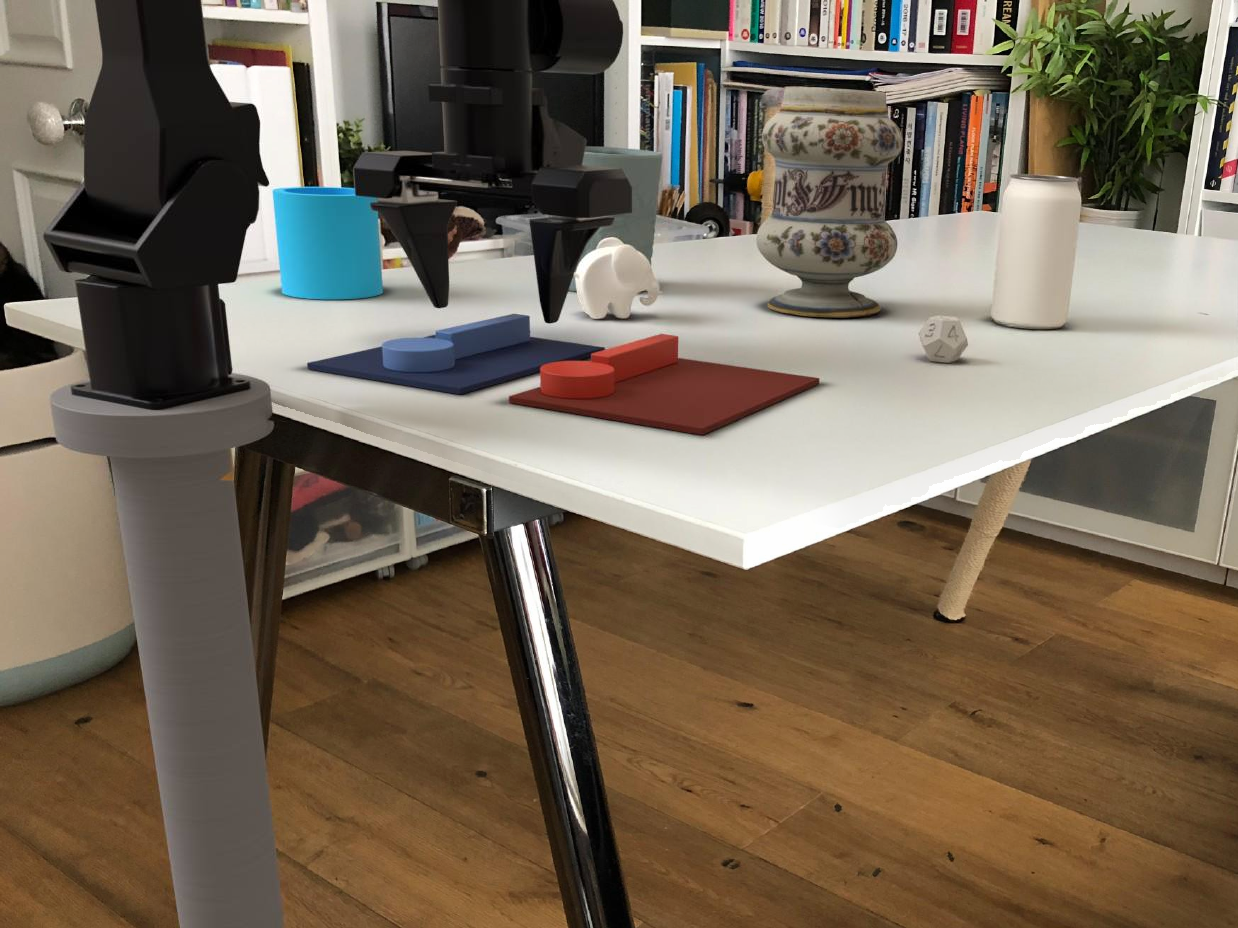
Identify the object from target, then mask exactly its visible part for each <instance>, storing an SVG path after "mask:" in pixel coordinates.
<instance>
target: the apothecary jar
mask: <svg viewBox="0 0 1238 928" xmlns="http://www.w3.org/2000/svg"><path fill="white" fill-rule="evenodd" d="M761 142H762V145H763V147H764V149H765V150H766V152H767V153H768V154H769V155H771V156H772V157H773V160H774V183H773V195H772V206H771V207H772V208H771V215H769V216H768V217H767V218H766V219H765V220H764V221H763V222H762V224H761V225H760V226H759V228H758V230H757V232H756V239H755V242H756V246H757V249H758V251H759V253H760V254H761V255H762V257H763V258H764V259H765V261H767V262H768V263H769V264H771V265H772V266H774V267H775V268H777V269H779V270H781V271H783V272H785V273H787V274H790V275H792V276H795V277H797V278H798V279H799V280H800V281H801V287H798V288H791V289H787V290H786V291H784V292H783V294H780V295H777V296H774V297H771V299H770V300H768V302H767V308H768V309H770V310H772V311H774V312H778V313H782V314H788V315H793V316H794V315H795V316H802V317H814V318H835V319H836V318H860V317H868V316H872V315H876V314H878V313H880V311H881V309H882V308H881V305H880V304H879V303H878V302H877V301H875V300H873V299H872V298H870V297H867V296H865V295H864V294H862V293H859V292H856V291H852V290H850V289H849V284H850V283H851V282H852V281H853V280H854V279H856V278H860V277H865V276H867V275H870V274H873V273H876V272H877V271H880V270H881V269H883V268H884V267H886V266H887V265H888V264H889V263H890V262H891V261H892V260H893V259H894V257H895V256H896V253H897V249H898V239H897V235H896V233H895V231H894V229H893V228H892V227H891V225H890V224H889V223H888V222H887V221H886V220H885V219H886V216H885V215H886V187H887V174H888V165H889V164H890V163H891V162H893V161H894V160H895V159H897V157H898V156H899V155H900V153H901V152H902V149H903V146H904V137H903V134H902V131H901V129H900V128H899V126H898V125H897V124H896V123H895V122H894V121H893V120H892V119H891V117H889V109H888V107H887V95H886V92H884V91H875V90H873V91H872V90H859V89H847V88H832V87H830V88H829V87H815V86H814V87H813V86H797V85H796V86H794V85H793V86H792V85H791V86H790V85H789V86H786V87H785V89H784V92H783V101H782V103H781V104H780V109H779V111H778V112H777V113H775V114H774V115H773V116H772V117H770V118H769V120H767V122H766V123H765V125H764V127H763V130H762V134H761Z"/></svg>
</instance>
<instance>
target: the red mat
mask: <svg viewBox="0 0 1238 928" xmlns="http://www.w3.org/2000/svg"><path fill="white" fill-rule="evenodd" d="M819 385H820V377H815V376H814V377H813V376H807V375H801V374H793V373H792V374H791V373H786V372H779V371H774V370H773V371H772V370H766V369H758V368H752V367H745V366H737V365H731V364H730V365H729V364H724V363H716V362H710V361H703V360H696V359H688V358H683V357H678V362H677V363H674V364H671V365H668V366H665V367H662V368H659V369H656V370H653V371H650V372H647V373H644V374H641V375H638V376H635V377H632V378H628V379H625V380H622V381H619V382H616V383H614V393H613V394H611V395H609V396H605V397H601V398H594V399H564V398H557V397H552V396H548V395H546V394H544V393H542V392H541V387H540V386H538V387H534V388H531V389H529V390H528V389H527V390H525V391H521V392H519V393H515V394H512V395H508V403H509V404H514V405H521V406H527V407H533V408H538V409H539V408H540V409H544V410H551V411H556V412H557V411H558V412H561V413H562V412H563V413H568V414H573V415H574V414H575V415H582V416H587V417H592V418H597V419H603V420H604V419H605V420H610V421H618V422H623V423H628V424H634V425H641V426H646V427H651V428H658V429H665V430H671V431H675V432H676V431H677V432H683V433H686V434H687V433H689V434H694V435H700V436H704V435H706V434H708V433H710V432H713V431H715V430H717V429H720V428H722V427H724V426H726V425H729V424H731V423H733V422H735V421H737V420H740V419H743V418H745V417H747V416H749V415H752V414H754V413H756V412H758V411H761V410H763V409H765V408H768V407H770V406H772V405H774V404H776V403H779V402H781V401H784V400H785V399H788V398H790V397H792V396H794V395H797V394H800V393H801V392H805V391H806V390H808V389H811V388H813V387H815V386H819Z"/></svg>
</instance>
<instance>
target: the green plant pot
mask: <svg viewBox="0 0 1238 928" xmlns="http://www.w3.org/2000/svg"><path fill="white" fill-rule="evenodd" d="M662 163H663V153H661V152H658V151H653V150H646V149H639V148H638V149H637V148H625V147H611V146H588V145H586V147H585V153H584V158H583V164H582V165H584V166H596V167H608V168H620V169H622V170H623V172H624V173H625V175H626V177H627V179H628V181H629V182H630V184H631V186H632V213H626V214H618V215H610V216H613V217H615V220H614V222H613V224H612V225H611V226H604V227H600V228H599V229H598V231H597V232H596V233H595V234H594V235H593V236H592V238H591V239H590V240H589V241H588V243H587V245H586V246H585V249H584V251H583V253H582V255H581V257H580V259H579V262H578V264H577V267H578V265H579V263H580V262H581V260H582V259H583V258H584V257H585V256H586V255H587V254H589V253H590V252H592V251H594V250H596V248H597V246H598V244H599V242H600V241H602V240H603V239H605V238H610V237H615V238H617V239H619V240H621V241H622V242H623V243H624V245H626V244H627V245H631V246H632V247H633V248H635V249H636V250H637V251H639V252H640V253H642V254H643V255H644V256H645V257H646V258H647V259H648V261H649V263H650V265H651V266H652V258H653V253H654V248H653V247H654V244H655V243H654V242H655V241H654V240H655V233H656V228H655V226H656V221H657V211H658V204H657V201H658V196H659V190H660V180H661V173H662V165H663V164H662ZM577 267H576V270H577ZM576 270H575V272H576ZM568 291H570V292H577V289H576V282H575V276H573V278H572V281H571V284H570V287H569V290H568Z"/></svg>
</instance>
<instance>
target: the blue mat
mask: <svg viewBox="0 0 1238 928" xmlns="http://www.w3.org/2000/svg"><path fill="white" fill-rule="evenodd" d="M421 338H436V336H435V334H432V335H426V336H423V337H422V336H421ZM603 350H606V347H605V346H597V345H592V344H584V343H577V342H569V341H563V340H556V339H549V338H543V337H536V336H530V341H528V342H524V343H520V344H516V345H512V346H508V347H504V348H500V349H496V350H492V351H488V352H484V353H480V354H476V355H472V356H468V357H464V358H460V359H456V360H455V365H454V367H453V368H451V369H448V370H444V371H438V372H428V373H408V372H398V371H393V370H389V369H387V368H385V367H384V366H383V352H382V346H378V347H373V348H369V349H365V350H360V351H355V352H351V353H346V354H342V355H337V356H333V357H328V358H323V359H318V360H315V361H310V362H307V364H306V367H307V370H313V371H318V372H324V373H328V374H329V373H330V374H336V375H341V376H348V377H353V378H358V379H359V378H360V379H364V380H365V379H366V380H371V381H378V382H385V383H389V384H395V385H401V386H407V387H412V388H418V389H419V388H420V389H424V390H432V391H437V392H443V393H448V394H456V395H464V394H467V393H471V392H474V391H477V390H480V389H484V388H485V389H486V388H488V387H491V386H496V385H499V384H502V383H505V382H508V381H512V380H516V379H519V378H523V377H526V376H529V375H533V374H536V373H540V368H541V366H543V365H545V364H548V363H553V362H560V361H583V360H585V359H588V358H591V354H592V353H596V352H599V351H603Z"/></svg>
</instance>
